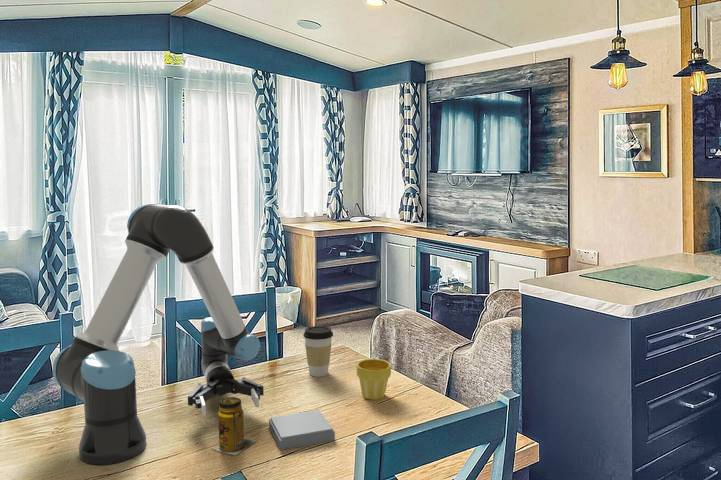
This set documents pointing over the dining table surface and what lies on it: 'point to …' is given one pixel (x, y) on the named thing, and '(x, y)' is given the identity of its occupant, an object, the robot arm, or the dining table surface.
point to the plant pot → (373, 377)
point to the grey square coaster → (300, 429)
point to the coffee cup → (318, 349)
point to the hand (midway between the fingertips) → (231, 406)
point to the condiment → (231, 427)
